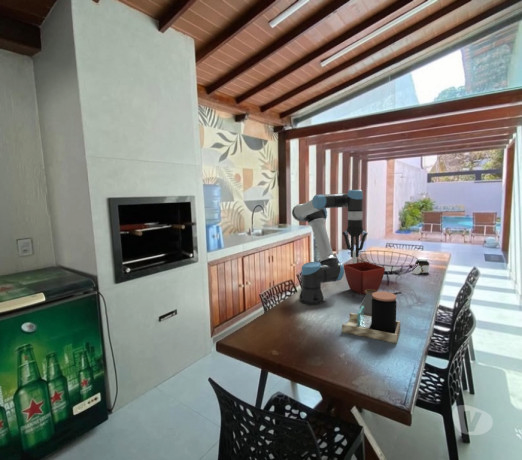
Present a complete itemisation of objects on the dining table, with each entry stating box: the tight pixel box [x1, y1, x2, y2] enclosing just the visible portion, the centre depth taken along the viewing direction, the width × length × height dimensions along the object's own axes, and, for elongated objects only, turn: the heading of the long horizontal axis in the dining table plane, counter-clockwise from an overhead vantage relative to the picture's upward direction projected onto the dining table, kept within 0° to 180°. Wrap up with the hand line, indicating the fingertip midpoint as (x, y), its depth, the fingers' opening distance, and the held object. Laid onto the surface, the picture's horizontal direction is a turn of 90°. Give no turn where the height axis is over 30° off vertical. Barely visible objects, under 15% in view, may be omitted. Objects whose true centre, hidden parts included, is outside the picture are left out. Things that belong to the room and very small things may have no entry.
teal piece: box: [356, 305, 372, 329], centre depth 145 cm, size 6×13×9 cm, turn 150°
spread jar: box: [411, 257, 430, 275], centre depth 234 cm, size 12×11×12 cm
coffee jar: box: [371, 291, 398, 334], centre depth 140 cm, size 11×11×18 cm
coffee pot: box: [359, 290, 403, 316], centre depth 159 cm, size 21×12×15 cm, turn 55°
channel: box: [341, 312, 401, 344], centre depth 144 cm, size 24×15×4 cm, turn 60°
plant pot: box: [343, 261, 386, 296], centre depth 199 cm, size 19×19×17 cm
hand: (354, 262), depth 161 cm, fingers closed
